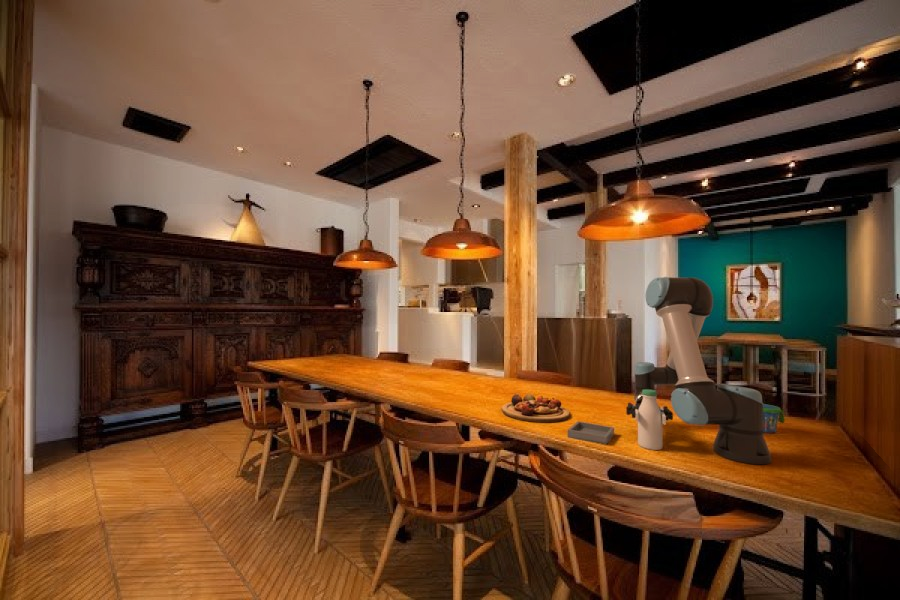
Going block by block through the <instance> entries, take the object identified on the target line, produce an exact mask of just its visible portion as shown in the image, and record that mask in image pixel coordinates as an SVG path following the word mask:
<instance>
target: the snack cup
mask: <svg viewBox="0 0 900 600" xmlns="http://www.w3.org/2000/svg"><path fill="white" fill-rule="evenodd" d="M785 421H786V420H785V415H784V412H783V410H782V409H781V407H779V406H777V405H772V404H771V405H770V404H766V403H763V433H767V434H771V433H773V432H774V433H776V432H777V429H778V423H781V424H784V423H785ZM774 433H773V434H774Z"/></svg>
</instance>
